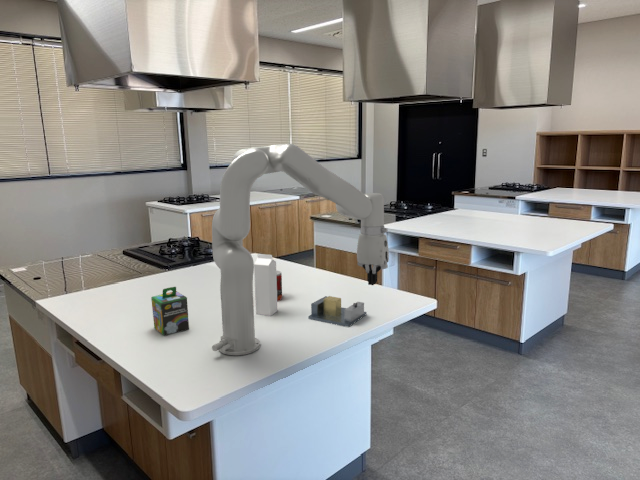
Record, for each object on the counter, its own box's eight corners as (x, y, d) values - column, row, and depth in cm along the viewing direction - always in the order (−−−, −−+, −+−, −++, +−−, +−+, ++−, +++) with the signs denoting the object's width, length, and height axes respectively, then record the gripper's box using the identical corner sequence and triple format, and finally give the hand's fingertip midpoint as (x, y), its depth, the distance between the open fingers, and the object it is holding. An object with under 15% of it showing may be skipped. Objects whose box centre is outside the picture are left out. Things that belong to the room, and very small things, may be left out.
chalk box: (179, 322, 164) (176, 281, 161) (190, 329, 157) (187, 287, 154) (153, 328, 158) (149, 286, 155) (163, 336, 151) (159, 292, 148)
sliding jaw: (351, 322, 159) (351, 308, 158) (344, 320, 160) (344, 306, 159) (364, 313, 167) (364, 300, 166) (357, 312, 168) (357, 298, 167)
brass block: (335, 316, 165) (335, 301, 164) (323, 313, 168) (323, 299, 166) (341, 312, 168) (341, 298, 167) (329, 310, 171) (329, 296, 170)
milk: (263, 309, 176) (261, 252, 172) (277, 310, 174) (276, 253, 170) (255, 314, 171) (253, 255, 167) (270, 316, 169) (268, 256, 165)
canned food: (279, 302, 184) (278, 275, 182) (259, 301, 185) (258, 274, 183) (284, 296, 191) (283, 270, 189) (265, 295, 193) (265, 269, 191)
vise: (348, 327, 157) (348, 312, 156) (308, 318, 165) (308, 305, 165) (366, 314, 169) (366, 301, 168) (328, 307, 177) (328, 294, 176)
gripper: (397, 230, 154) (397, 284, 157) (357, 227, 161) (357, 278, 165) (388, 234, 147) (388, 290, 151) (347, 230, 155) (347, 284, 159)
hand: (372, 283), depth 158 cm, fingers closed
